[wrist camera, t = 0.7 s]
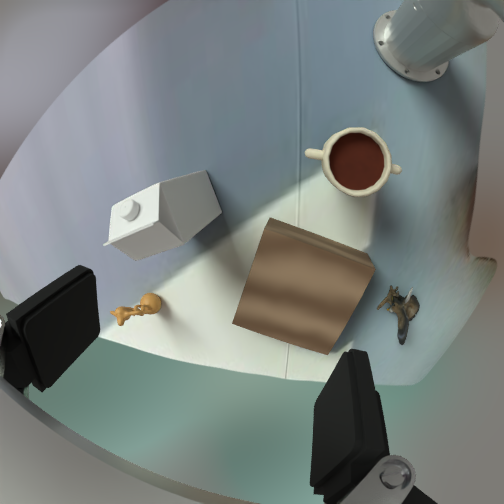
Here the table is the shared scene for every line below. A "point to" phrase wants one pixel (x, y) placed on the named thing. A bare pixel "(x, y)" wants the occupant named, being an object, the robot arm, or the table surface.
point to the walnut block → (302, 287)
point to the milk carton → (163, 215)
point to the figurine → (147, 304)
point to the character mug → (356, 161)
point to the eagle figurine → (402, 310)
